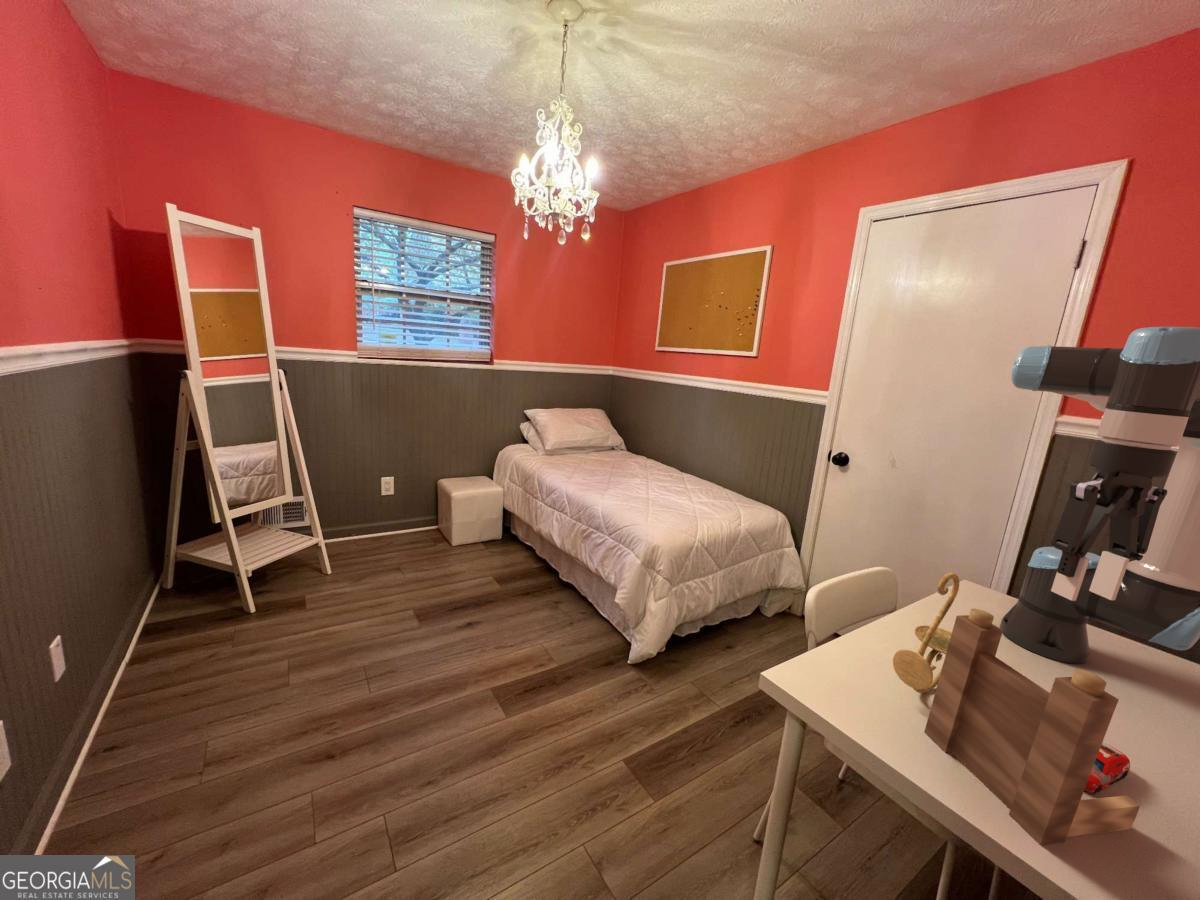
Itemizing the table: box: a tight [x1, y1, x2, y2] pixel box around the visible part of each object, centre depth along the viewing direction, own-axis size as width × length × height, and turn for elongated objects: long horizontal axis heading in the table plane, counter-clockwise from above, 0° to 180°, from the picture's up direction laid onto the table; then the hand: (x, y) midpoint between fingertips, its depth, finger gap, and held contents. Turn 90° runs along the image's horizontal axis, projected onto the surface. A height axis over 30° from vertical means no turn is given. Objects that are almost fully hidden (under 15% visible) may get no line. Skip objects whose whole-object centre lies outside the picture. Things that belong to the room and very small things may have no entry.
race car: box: [1084, 741, 1131, 795], centre depth 71 cm, size 13×5×4 cm, turn 110°
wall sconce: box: [892, 572, 960, 694], centre depth 84 cm, size 14×10×25 cm
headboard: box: [924, 608, 1141, 846], centre depth 67 cm, size 16×18×24 cm
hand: (1082, 595), depth 67 cm, fingers open, 6 cm apart
